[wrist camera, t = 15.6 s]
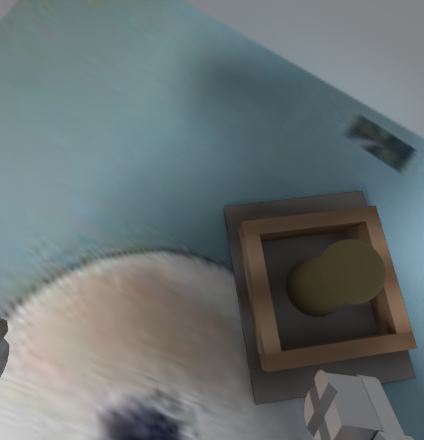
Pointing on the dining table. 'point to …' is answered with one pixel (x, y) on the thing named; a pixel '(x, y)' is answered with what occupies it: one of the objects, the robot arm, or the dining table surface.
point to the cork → (336, 278)
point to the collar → (299, 322)
